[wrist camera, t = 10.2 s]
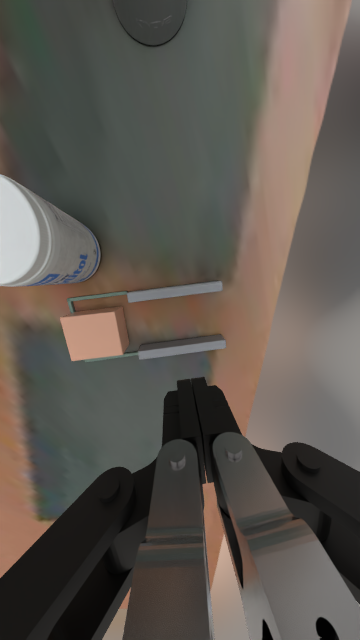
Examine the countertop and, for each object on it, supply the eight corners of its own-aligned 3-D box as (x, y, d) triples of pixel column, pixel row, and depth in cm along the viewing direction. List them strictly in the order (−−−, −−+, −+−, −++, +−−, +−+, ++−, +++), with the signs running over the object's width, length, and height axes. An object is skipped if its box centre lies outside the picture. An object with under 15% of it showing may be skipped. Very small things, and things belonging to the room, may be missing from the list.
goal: (68, 298, 31) (66, 298, 30) (127, 290, 31) (126, 291, 30) (85, 360, 33) (84, 362, 33) (139, 353, 34) (139, 354, 33)
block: (76, 311, 31) (59, 317, 27) (122, 306, 32) (114, 311, 27) (86, 348, 33) (71, 360, 28) (129, 343, 33) (122, 354, 28)
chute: (130, 291, 31) (126, 293, 28) (217, 280, 31) (221, 281, 28) (142, 352, 34) (139, 359, 31) (221, 341, 34) (225, 348, 31)
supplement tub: (83, 294, 31) (8, 310, 16) (29, 258, 29) (-108, 242, 14) (114, 245, 29) (61, 217, 15) (59, 204, 27) (-61, 127, 13)
